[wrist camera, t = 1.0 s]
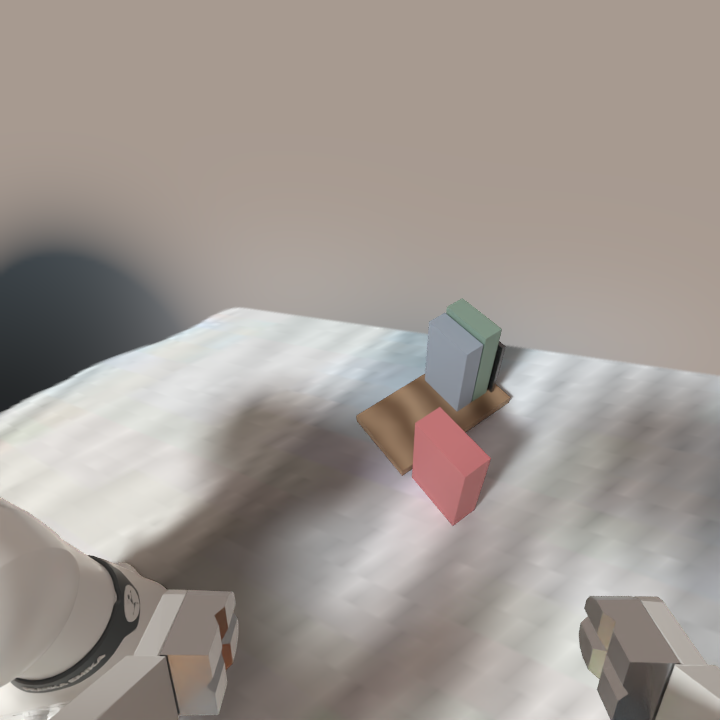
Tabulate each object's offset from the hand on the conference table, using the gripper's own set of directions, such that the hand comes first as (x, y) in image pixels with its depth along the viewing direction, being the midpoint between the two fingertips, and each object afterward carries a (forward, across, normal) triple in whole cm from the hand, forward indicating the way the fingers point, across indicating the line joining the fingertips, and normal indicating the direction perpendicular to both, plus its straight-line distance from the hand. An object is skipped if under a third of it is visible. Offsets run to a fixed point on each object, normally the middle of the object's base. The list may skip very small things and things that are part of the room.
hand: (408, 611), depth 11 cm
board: (+61, +10, -27) cm, 67 cm away
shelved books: (+63, +14, -23) cm, 69 cm away
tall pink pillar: (+48, +10, -34) cm, 60 cm away
